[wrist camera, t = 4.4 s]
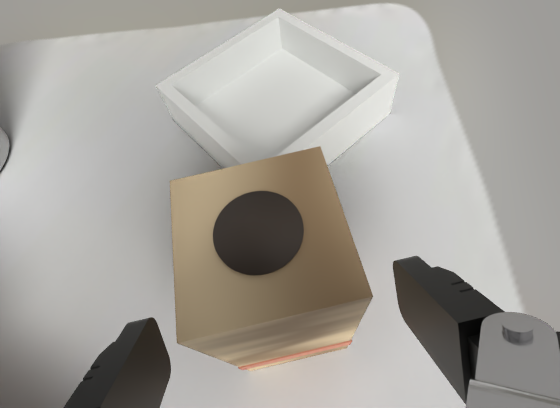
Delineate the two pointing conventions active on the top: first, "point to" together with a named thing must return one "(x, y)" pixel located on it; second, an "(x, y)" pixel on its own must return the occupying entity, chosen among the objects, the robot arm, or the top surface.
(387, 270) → the top surface
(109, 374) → the robot arm
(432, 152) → the top surface
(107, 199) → the top surface
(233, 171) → the oak block
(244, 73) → the white tray
